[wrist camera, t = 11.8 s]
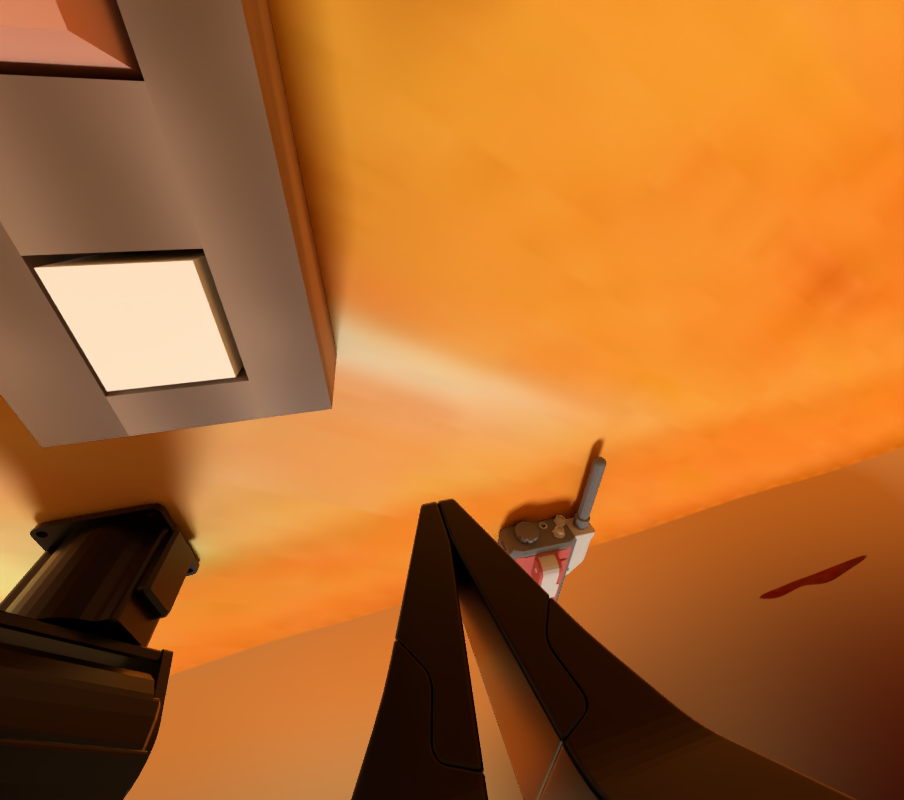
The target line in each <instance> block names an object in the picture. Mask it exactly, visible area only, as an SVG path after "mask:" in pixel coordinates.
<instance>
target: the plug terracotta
mask: <svg viewBox="0 0 904 800" xmlns="http://www.w3.org/2000/svg"><path fill="white" fill-rule="evenodd" d="M0 74H1V75H22V76H43V77H64V78H85V79H106V80H126V81H144V78H143V75H142V72H141V69H140V67H139V64H138V61H137V58H136V55H135V52H134V49H133V47H132V44H131V41H130V38H129V35H128V32H127V29H126V26H125V24H124V21H123V18H122V15H121V12H120V9H119V6H118V3H117V1H116V0H0Z"/></svg>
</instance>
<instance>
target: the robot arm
mask: <svg viewBox="0 0 904 800" xmlns="http://www.w3.org/2000/svg"><path fill="white" fill-rule="evenodd" d="M154 512H155V513H154ZM30 535H31V537H32V538H33V539H34V540H35V541H36V542H37V543H38V544H39V545H40V546H41V547H42V548H43V549H44V550H45V551H46V552H45V553H44V554H43V555H42V556H41V557H40V558H39V560H38V561H37V562H36V563H35V564H34V565H33V567H32V568H31V569H30V570H29V571H28V572H27V573H26V575H25V576H24V577H23V578H22V579H21V580H20V582H19V583H18V584H17V585H16V586H15V587H14V588H13V590H12V591H11V592H10V593H9V594H8V595H7V597H6V598H5V599H4V600H3V601H2V602H1V603H0V800H123V799H124V797H125V796H126V795H127V793H128V792H129V791H130V789H131V788H132V786H133V784H134V783H135V781H136V780H137V778H138V776H139V775H140V772H141V771H142V769H143V767H144V765H145V763H146V761H147V759H148V757H149V755H150V753H151V750H152V748H153V746H154V743H155V740H156V737H157V734H158V730H159V726H160V722H161V716H162V711H163V705H164V700H165V695H166V689H167V684H168V678H169V673H170V667H171V662H172V657H173V652H172V651H168V650H164V649H163V650H161V651H160V650H156V649H152V648H148V647H147V646H148V643H149V641H150V639H151V637H152V635H153V632H154V630H155V628H156V626H157V624H158V621H159V619H160V618H164V617H166V616H167V615H168V614H169V613H170V611H171V609H172V606H173V604H174V602H175V599H176V597H177V595H178V593H179V590H180V588H181V586H182V583H183V581H184V579H185V577H186V576H189V575H193V574H195V573H196V572H197V570H198V568H199V563H198V561H197V560H196V558H195V556H194V553H193V552H192V550H191V549H190V547H189V545H188V544H187V542H186V540H185V539H184V537H183V536H182V534H181V532H180V531H179V530H178V529H177V527H176V525H175V524H174V522H173V521H172V519H171V517H170V516H169V514H168V512H167V511H166V509H165V508H164V507H163V506H161V505H159V504H149V505H144V506H138V507H132V508H126V509H120V510H115V511H109V512H103V513H97V514H91V515H86V516H80V517H74V518H68V519H62V520H57V521H51V522H45V523H40V524H38V525H37V526H36V527H35V528H34V529H33V530H32V531H31V532H30ZM462 620H463V623H464V626H465V629H466V632H467V635H468V638H469V641H470V644H471V647H472V650H473V653H474V656H475V659H476V661H477V664H478V667H479V670H480V673H481V676H482V679H483V682H484V685H485V688H486V691H487V694H488V696H489V700H490V703H491V705H492V708H493V711H494V714H495V717H496V720H497V723H498V726H499V729H500V732H501V735H502V738H503V740H504V744H505V747H506V749H507V753H508V755H509V758H510V761H511V764H512V767H513V770H514V773H515V776H516V779H517V782H518V785H519V788H520V791H521V794H522V796H523V800H856V799H854V798H852V797H849V796H847V795H845V794H843V793H841V792H839V791H837V790H835V789H833V788H831V787H829V786H826V785H824V784H822V783H820V782H818V781H816V780H814V779H812V778H810V777H807V776H805V775H803V774H801V773H799V772H797V771H795V770H793V769H791V768H789V767H787V766H784V765H782V764H780V763H778V762H776V761H774V760H772V759H770V758H767V757H766V756H763V755H761V754H759V753H757V752H755V751H753V750H751V749H749V748H747V747H744V746H742V745H740V744H738V743H736V742H734V741H732V740H730V739H728V738H726V737H724V736H722V735H720V734H718V733H716V732H714V731H712V730H711V729H709V728H707V727H705V726H704V725H702V724H700V723H699V722H698V721H696V720H695V719H693V718H692V717H690V716H689V715H687V714H686V713H685V712H683V711H682V710H680V709H679V708H678V707H676V706H675V705H674V704H673V703H672V702H670V701H669V700H668V699H667V698H666V697H664V696H663V695H662V694H661V693H660V692H658V691H657V690H656V689H655V688H654V687H652V686H651V685H650V684H649V683H648V682H646V681H645V680H644V679H643V678H642V677H640V676H639V675H638V674H636V673H635V672H634V671H633V670H632V669H631V668H629V667H628V666H627V665H626V664H625V663H623V662H622V661H621V660H620V659H618V658H617V657H616V656H615V655H614V654H613V653H611V652H610V651H609V650H608V649H607V648H606V647H604V646H603V645H602V644H601V643H600V642H599V641H597V640H596V639H595V638H594V637H593V636H592V635H590V634H589V633H588V632H587V631H586V630H585V629H584V628H583V627H582V626H580V625H579V624H578V623H577V622H576V621H575V620H574V619H573V618H572V617H571V616H570V615H569V614H568V613H567V612H566V611H565V610H564V609H563V608H562V607H561V606H560V605H559V604H558V603H557V602H556V601H555V600H554V599H553V598H549V594H548V593H547V592H546V591H545V590H544V589H543V588H542V587H541V586H540V585H539V584H538V583H537V582H536V581H535V580H534V579H533V578H532V577H531V576H530V575H529V574H528V573H527V572H526V571H525V570H524V569H523V568H522V567H521V566H520V565H519V564H518V563H517V562H516V561H515V560H514V559H513V558H512V557H511V556H510V555H509V554H508V553H507V552H506V551H505V550H504V549H503V548H502V547H501V546H500V545H499V544H498V543H497V542H496V541H495V540H494V539H493V538H492V537H491V536H490V535H489V534H488V533H487V532H486V531H485V530H484V529H483V528H482V527H481V526H480V525H479V524H478V523H477V522H476V521H475V520H474V519H473V518H472V517H471V516H470V515H469V514H468V513H467V512H466V511H465V510H464V509H463V508H462V507H461V506H460V505H459V504H458V503H457V502H456V501H455V500H454V499H446V500H441V501H439V502H438V504H437V502H431V503H426V504H423V505H422V506H421V509H420V514H419V519H418V524H417V529H416V535H415V540H414V545H413V550H412V555H411V560H410V565H409V570H408V575H407V581H406V586H405V591H404V596H403V601H402V606H401V611H400V616H399V622H398V627H397V631H396V637H395V639H396V641H395V642H394V645H393V651H392V656H391V661H390V665H389V670H388V674H387V679H386V683H385V687H384V692H383V696H382V699H381V703H380V706H379V710H378V713H377V717H376V721H375V724H374V728H373V731H372V734H371V737H370V741H369V744H368V747H367V750H366V754H365V757H364V760H363V764H362V767H361V770H360V773H359V776H358V779H357V783H356V786H355V789H354V792H353V796H352V799H351V800H488V796H487V789H486V782H485V776H484V774H483V770H484V768H483V761H482V755H481V748H480V741H479V734H478V727H477V721H476V713H475V706H474V700H473V692H472V686H471V679H470V672H469V665H468V658H467V651H466V644H465V637H464V631H463V624H462Z"/></svg>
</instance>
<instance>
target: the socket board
mask: <svg viewBox="0 0 904 800" xmlns="http://www.w3.org/2000/svg"><path fill="white" fill-rule="evenodd" d="M116 1H117V3H118V6H119V9H120V12H121V15H122V18H123V21H124V24H125V26H126V29H127V32H128V35H129V38H130V41H131V44H132V47H133V49H134V52H135V55H136V58H137V61H138V64H139V67H140V69H141V72H142V75H143V78H144V81H126V80H106V79H85V78H64V77H43V76H22V75H1V74H0V395H1V396H2V397H3V398H4V400H5V401H6V402H7V404H8V405H9V406H10V408H11V409H12V410H13V411H14V413H15V414H16V415H17V417H18V418H19V419H20V420H21V422H22V423H23V424H24V426H25V427H26V428H27V429H28V431H29V432H30V433H31V435H32V436H33V437H34V438H35V440H36V441H37V442H38V444H39V445H40V446H41V448H45V447H53V446H60V445H68V444H75V443H82V442H90V441H97V440H105V439H112V438H119V437H127V436H134V435H142V434H149V433H156V432H164V431H171V430H178V429H186V428H193V427H201V426H208V425H215V424H223V423H230V422H238V421H245V420H252V419H260V418H267V417H275V416H282V415H289V414H297V413H304V412H311V411H319V410H326V409H332V401H333V390H334V379H335V368H336V356H337V354H336V349H335V344H334V339H333V334H332V329H331V323H330V318H329V313H328V308H327V303H326V298H325V293H324V288H323V283H322V278H321V272H320V267H319V262H318V257H317V252H316V247H315V242H314V237H313V232H312V226H311V221H310V216H309V211H308V206H307V201H306V196H305V191H304V186H303V181H302V175H301V170H300V165H299V160H298V155H297V150H296V145H295V140H294V135H293V130H292V124H291V119H290V114H289V109H288V104H287V99H286V94H285V89H284V84H283V79H282V73H281V68H280V63H279V58H278V53H277V48H276V43H275V38H274V33H273V28H272V22H271V17H270V12H269V7H268V2H267V0H116ZM202 248H203V250H204V253H205V256H206V259H207V262H208V265H209V267H210V270H211V273H212V276H213V279H214V282H215V285H216V287H217V290H218V293H219V296H220V299H221V302H222V305H223V308H224V310H225V313H226V316H227V319H228V322H229V325H230V328H231V331H232V333H233V336H234V339H235V342H236V345H237V348H238V351H239V353H240V356H241V359H242V362H243V367H242V368H241V370H240V371H239V373H238V375H237V376H236V377H233V378H224V379H215V380H206V381H197V382H188V383H179V384H170V385H161V386H152V387H143V388H134V389H125V390H116V391H107V390H106V389H105V387H104V385H103V384H102V382H101V380H100V379H99V377H98V375H97V374H96V372H95V370H94V369H93V367H92V365H91V363H90V362H89V360H88V358H87V357H86V355H85V353H84V352H83V350H82V348H81V347H80V345H79V343H78V342H77V340H76V338H75V336H74V335H73V333H72V331H71V330H70V328H69V326H68V325H67V323H66V321H65V320H64V318H63V316H62V314H61V313H60V311H59V309H58V308H57V306H56V304H55V303H54V301H53V299H52V298H51V296H50V294H49V293H48V291H47V289H46V287H45V286H44V284H43V282H42V281H41V279H40V277H39V276H38V274H37V272H36V271H35V269H34V268H35V267H40V266H45V265H49V264H54V263H59V262H63V261H68V260H72V259H77V258H82V257H86V256H91V255H96V254H100V253H105V252H127V251H152V250H177V249H202Z"/></svg>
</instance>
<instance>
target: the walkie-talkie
mask: <svg viewBox="0 0 904 800" xmlns="http://www.w3.org/2000/svg"><path fill="white" fill-rule="evenodd" d="M605 467H606V461H605V459H604V458H602V457H596V458H594V459H593V462H592V466H591V469H590V472H589V476H588V479H587V482H586V485H585V489H584V492H583V495H582V499H581V502H580V505H579V509H578V511H577V512H576V513H575V516H574V518H569V519H565V517H564V516H562V515H557V516H556V518H553V519H547V520H542V521H537V522H532V523H531V522H528V521H522V522H519V523H518V524H516V526H511V527H506V528H503V529H502V530H501V531H500V534H499V540H498V544H499V545H500V546H501V547H502V548H503V549H504V550H505V551H506V552H507V553H508V554H509V555H510V556H511V557H512V558H513V559H514V560H515V561H516V562H517V563H518V564H519V565H520V566H521V567H522V568H523V569H524V570H525V571H526V572H527V573H528V574H529V575H530V576H531V577H532V578H533V579H534V580H535V581H536V582H537V583H538V584H539V585H540V586H541V587H542V588H543V589H544V590H545V591H546V592H547V593H548V594H549V598H553V599H554V600H555V601H556V602H557V600H558V597H559V594H560V590H561V587H562V584H563V581H564V578H565V574H569V573H570V572H571V571H572V570H573V569H574V568H575V567H576V566H578V564H580V563H581V562H582V561H583V559H584V557H585V554H586V551H587V549H588V546H589V543H590V540H591V538H592V537H593V536H594V533H595V530H594V528H593V527H592V526H591V524H590V523H589V520H590V516H589V515H590V512H591V509H592V506H593V503H594V500H595V497H596V494H597V491H598V488H599V485H600V482H601V479H602V476H603V473H604V470H605Z"/></svg>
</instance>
